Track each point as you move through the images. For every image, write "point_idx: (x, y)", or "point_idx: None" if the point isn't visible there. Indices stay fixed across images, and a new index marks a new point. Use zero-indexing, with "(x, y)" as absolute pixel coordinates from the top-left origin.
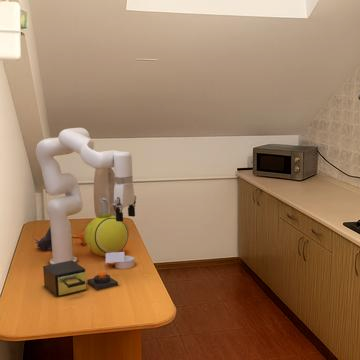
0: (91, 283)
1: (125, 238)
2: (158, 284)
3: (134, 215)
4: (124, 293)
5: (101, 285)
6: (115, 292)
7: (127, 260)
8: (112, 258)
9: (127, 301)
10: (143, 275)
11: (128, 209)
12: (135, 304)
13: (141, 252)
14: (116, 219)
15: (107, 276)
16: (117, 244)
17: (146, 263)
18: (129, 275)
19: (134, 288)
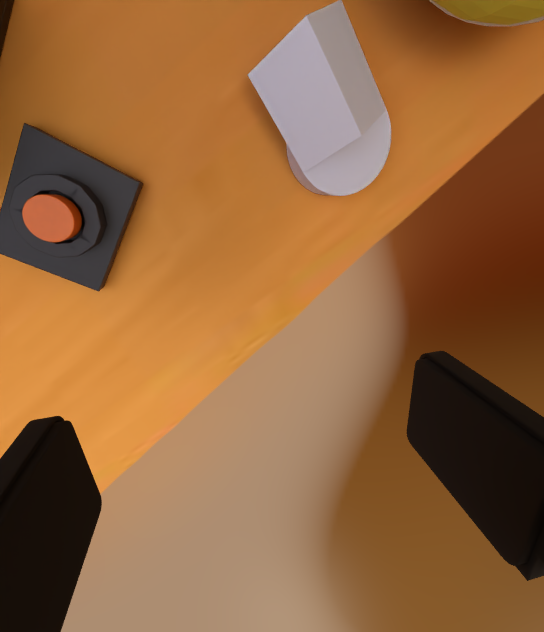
0: (11, 179)
1: (542, 14)
2: (198, 400)
3: (419, 449)
4: (57, 359)
5: (15, 256)
6: (41, 325)
7: (324, 176)
8: (291, 94)
9: (6, 414)
10: (252, 302)
11: (510, 445)
12: (6, 448)
13: (518, 102)
14: (19, 445)
15: (76, 242)
16: (459, 1)
17: (381, 225)
18: (228, 252)
19: (120, 358)
